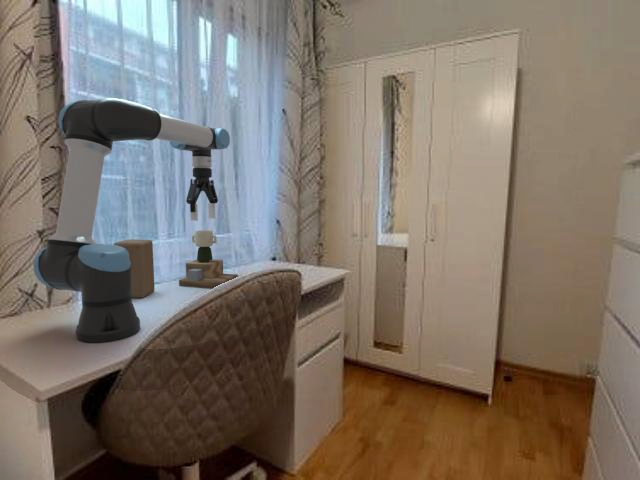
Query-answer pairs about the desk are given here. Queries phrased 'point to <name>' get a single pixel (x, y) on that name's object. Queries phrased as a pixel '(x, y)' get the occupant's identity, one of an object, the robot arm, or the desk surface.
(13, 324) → the desk surface
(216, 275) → the walnut stand
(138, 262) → the wooden block
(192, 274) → the grey cube
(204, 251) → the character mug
